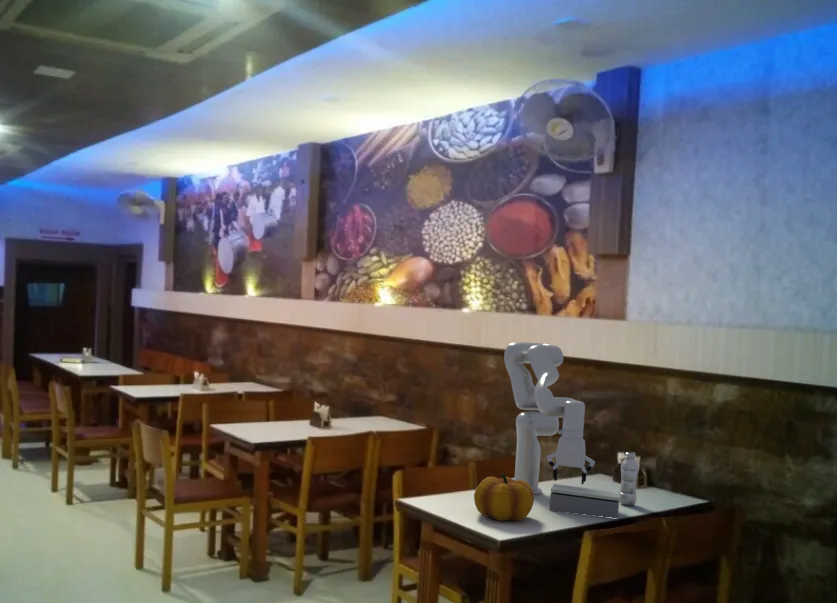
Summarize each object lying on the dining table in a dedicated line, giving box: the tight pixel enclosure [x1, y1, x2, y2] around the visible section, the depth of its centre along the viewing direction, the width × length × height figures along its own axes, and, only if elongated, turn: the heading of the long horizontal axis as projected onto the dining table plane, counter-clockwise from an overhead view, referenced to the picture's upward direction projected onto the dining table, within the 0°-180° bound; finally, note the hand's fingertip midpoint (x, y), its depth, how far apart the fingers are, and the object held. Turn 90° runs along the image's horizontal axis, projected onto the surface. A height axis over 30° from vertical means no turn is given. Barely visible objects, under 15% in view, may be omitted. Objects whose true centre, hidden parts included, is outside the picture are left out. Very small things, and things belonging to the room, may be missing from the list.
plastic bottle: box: [619, 451, 639, 506], centre depth 297 cm, size 6×7×20 cm
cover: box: [550, 483, 620, 501], centre depth 283 cm, size 24×12×1 cm, turn 74°
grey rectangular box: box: [549, 491, 620, 520], centre depth 283 cm, size 24×12×6 cm, turn 74°
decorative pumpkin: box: [473, 473, 535, 522], centre depth 267 cm, size 20×22×15 cm
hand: (569, 481), depth 282 cm, fingers open, 9 cm apart
